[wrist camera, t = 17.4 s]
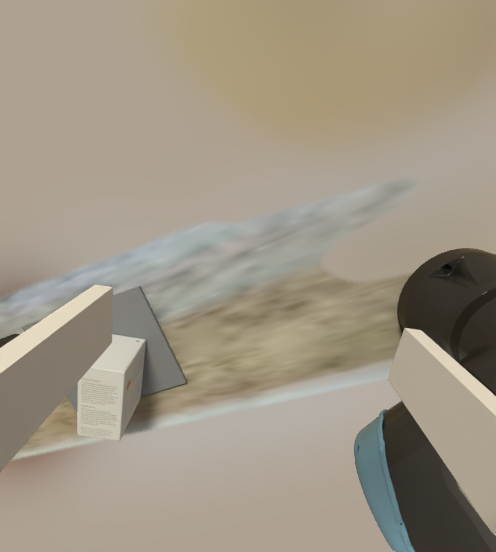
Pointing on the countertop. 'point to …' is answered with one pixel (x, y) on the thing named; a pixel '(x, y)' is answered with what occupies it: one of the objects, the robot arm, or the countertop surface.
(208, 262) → the countertop surface
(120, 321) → the slate mat
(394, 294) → the countertop surface
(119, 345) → the small box
